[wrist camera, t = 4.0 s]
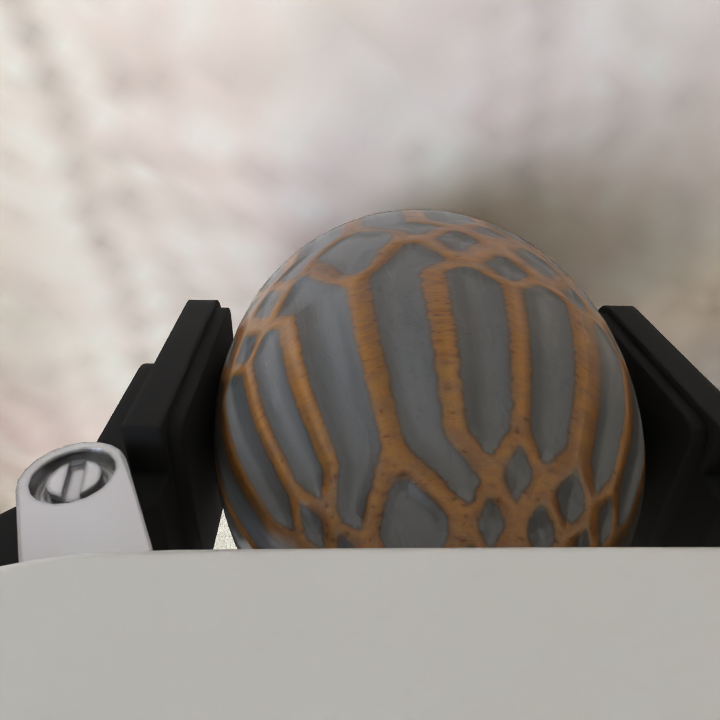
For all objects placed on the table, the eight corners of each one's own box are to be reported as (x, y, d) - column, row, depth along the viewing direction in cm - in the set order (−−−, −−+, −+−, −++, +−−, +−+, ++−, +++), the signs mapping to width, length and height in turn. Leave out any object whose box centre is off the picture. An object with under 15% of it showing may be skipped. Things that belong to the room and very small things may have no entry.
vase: (198, 363, 13) (21, 802, 6) (351, 97, 10) (380, 304, 3) (429, 474, 16) (512, 899, 8) (612, 278, 13) (1010, 664, 5)
